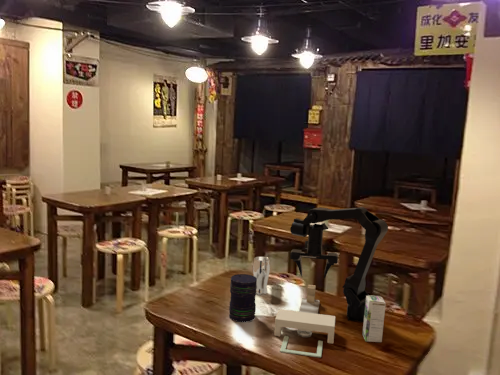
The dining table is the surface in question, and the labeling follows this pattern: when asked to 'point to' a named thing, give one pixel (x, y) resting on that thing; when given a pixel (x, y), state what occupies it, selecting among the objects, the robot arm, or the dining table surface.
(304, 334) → the disc
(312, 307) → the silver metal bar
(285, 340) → the frame
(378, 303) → the syrup box
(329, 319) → the cream bridge block
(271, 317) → the dining table surface
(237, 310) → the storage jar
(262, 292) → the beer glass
